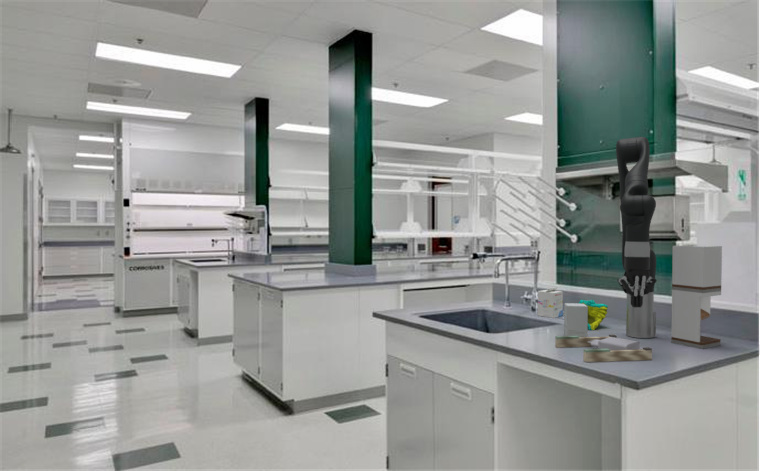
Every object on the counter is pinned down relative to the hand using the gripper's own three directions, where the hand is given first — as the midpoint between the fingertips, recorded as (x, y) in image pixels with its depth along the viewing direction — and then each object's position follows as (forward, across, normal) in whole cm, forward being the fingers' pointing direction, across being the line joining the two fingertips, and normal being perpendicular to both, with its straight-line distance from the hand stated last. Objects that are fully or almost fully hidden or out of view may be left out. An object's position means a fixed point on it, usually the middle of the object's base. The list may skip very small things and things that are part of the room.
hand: (636, 307), depth 167 cm
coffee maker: (+15, -28, -8) cm, 33 cm away
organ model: (+15, -6, -41) cm, 45 cm away
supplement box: (+15, +10, -22) cm, 28 cm away
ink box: (+15, -2, -67) cm, 69 cm away
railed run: (+15, +12, 0) cm, 20 cm away
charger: (+16, +9, 0) cm, 18 cm away
